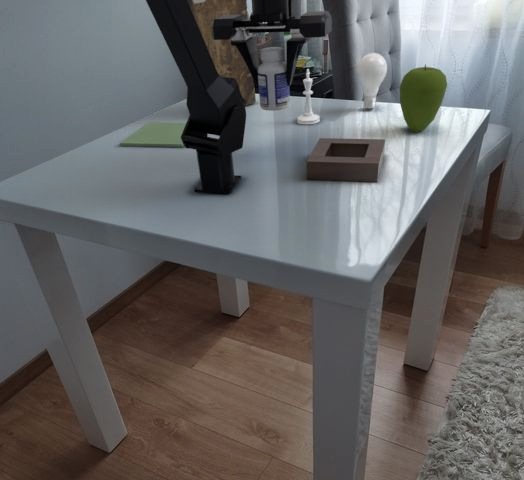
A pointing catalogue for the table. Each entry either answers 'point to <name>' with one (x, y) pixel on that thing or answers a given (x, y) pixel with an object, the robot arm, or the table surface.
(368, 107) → the lightbulb
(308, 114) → the chess piece
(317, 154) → the holder
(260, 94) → the pill bottle
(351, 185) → the table surface
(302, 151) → the table surface
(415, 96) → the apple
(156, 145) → the mat
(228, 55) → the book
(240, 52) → the robot arm
